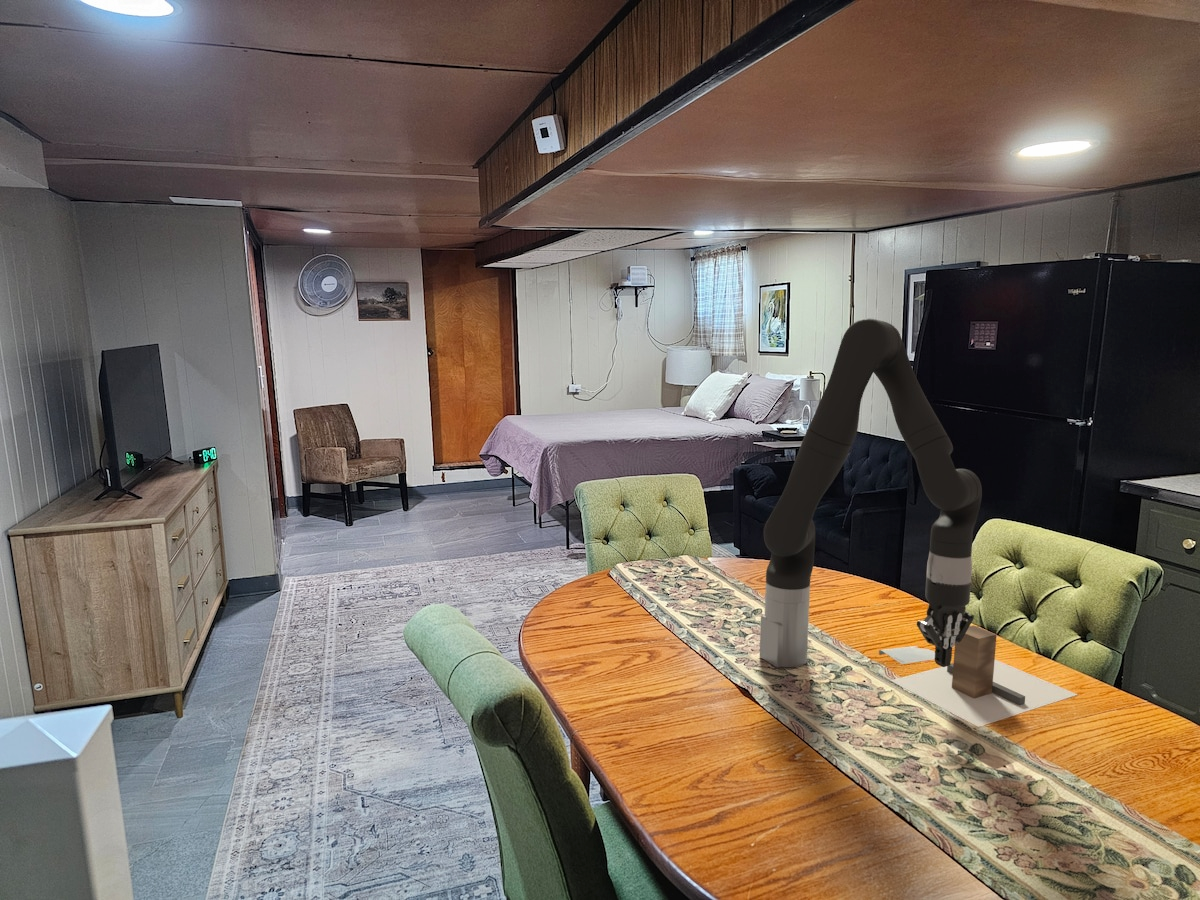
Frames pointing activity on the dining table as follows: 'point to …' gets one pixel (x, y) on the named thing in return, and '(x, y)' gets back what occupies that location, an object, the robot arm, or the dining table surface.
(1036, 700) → the grey board
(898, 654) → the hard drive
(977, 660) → the walnut block
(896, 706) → the dining table surface
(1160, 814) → the dining table surface
